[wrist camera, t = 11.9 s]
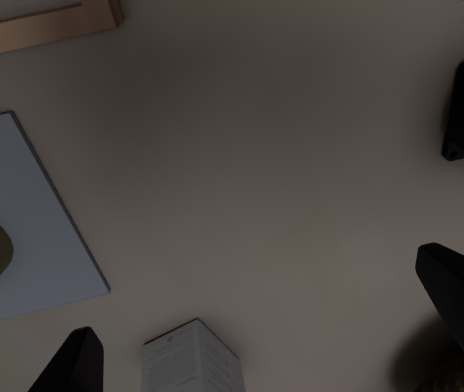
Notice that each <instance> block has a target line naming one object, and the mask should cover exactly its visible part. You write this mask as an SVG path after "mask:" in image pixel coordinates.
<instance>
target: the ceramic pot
mask: <svg viewBox="0 0 464 392" xmlns="http://www.w3.org/2000/svg"><path fill="white" fill-rule="evenodd" d="M414 392H464V352H462V353H460V354H459V355H457V356H455V357H454V358H452V359H451V360H450V361H448V362H447V363H446V364H445V365H443V366H442V367H441V368H439V369H438V370H437V371H436V372H434V373H433V374H432V375H430V376H429V377H428V378H426V379H425V380H424V381H423V382H422V383H421V384H420V385H419V387H418V388H417V389H416V390H415V391H414Z"/></svg>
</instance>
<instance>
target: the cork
mask: <svg viewBox="0 0 464 392" xmlns="http://www.w3.org/2000/svg"><path fill="white" fill-rule="evenodd" d="M13 253H14V248H13V245H12V241H11V238H10V237H9V235H8V234H7V233H6V231H5V230H4V229H3V227H2V226H0V275H1V274H2V273H3V272H4V270H5V269H6V268H7V266H8V265H9V264H10V263H11V261H12V258H13Z"/></svg>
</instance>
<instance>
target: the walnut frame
mask: <svg viewBox="0 0 464 392" xmlns="http://www.w3.org/2000/svg"><path fill="white" fill-rule="evenodd" d="M80 1H81V3H79V4H75V5H70V6H66V7H61V8H56V9H52V10H47V11H42V12H38V13H33V14H28V15H24V16H19V17H15V18H10V19H5V20H1V21H0V53H2V52H7V51H11V50H16V49H21V48H25V47H30V46H34V45H39V44H43V43H48V42H53V41H57V40H62V39H66V38H71V37H76V36H80V35H85V34H89V33H94V32H98V31H103V30H108V29H112V28H116V27H117V26H118V25H119V24H120V23H121V22H122V21H123V20H124V17H123V14H122V10H121V7H120V4H119V1H118V0H80Z"/></svg>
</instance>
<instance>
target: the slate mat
mask: <svg viewBox="0 0 464 392" xmlns="http://www.w3.org/2000/svg"><path fill="white" fill-rule="evenodd" d="M0 226H2V227H3V229H4V230H5V231H6V233H7V234H8V235H9V237H10V238H11V241H12V245H13V248H14V253H13V258H12V261H11V263H10V264H9V265H8V266H7V268H6V269H5V270H4V272H3V273H2V274H1V275H0V320H1V319H5V318H9V317H13V316H17V315H22V314H26V313H30V312H34V311H38V310H43V309H47V308H51V307H55V306H59V305H63V304H68V303H72V302H76V301H80V300H84V299H89V298H93V297H97V296H101V295H105V294H109V293H110V290H111V289H110V287H109V285H108V284H107V282H106V280H105V278H104V276H103V274H102V273H101V271H100V269H99V267H98V265H97V264H96V262H95V260H94V258H93V256H92V255H91V253H90V251H89V249H88V247H87V245H86V244H85V242H84V240H83V238H82V236H81V235H80V233H79V231H78V229H77V227H76V225H75V224H74V222H73V220H72V218H71V216H70V215H69V213H68V211H67V209H66V207H65V205H64V204H63V202H62V200H61V198H60V196H59V195H58V193H57V191H56V189H55V187H54V186H53V184H52V182H51V180H50V178H49V176H48V175H47V173H46V171H45V169H44V167H43V166H42V164H41V162H40V160H39V158H38V156H37V155H36V153H35V151H34V149H33V147H32V146H31V144H30V142H29V140H28V138H27V136H26V135H25V133H24V131H23V129H22V127H21V126H20V124H19V122H18V120H17V118H16V117H15V115H14V113H13V111H8V112H4V113H0Z"/></svg>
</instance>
